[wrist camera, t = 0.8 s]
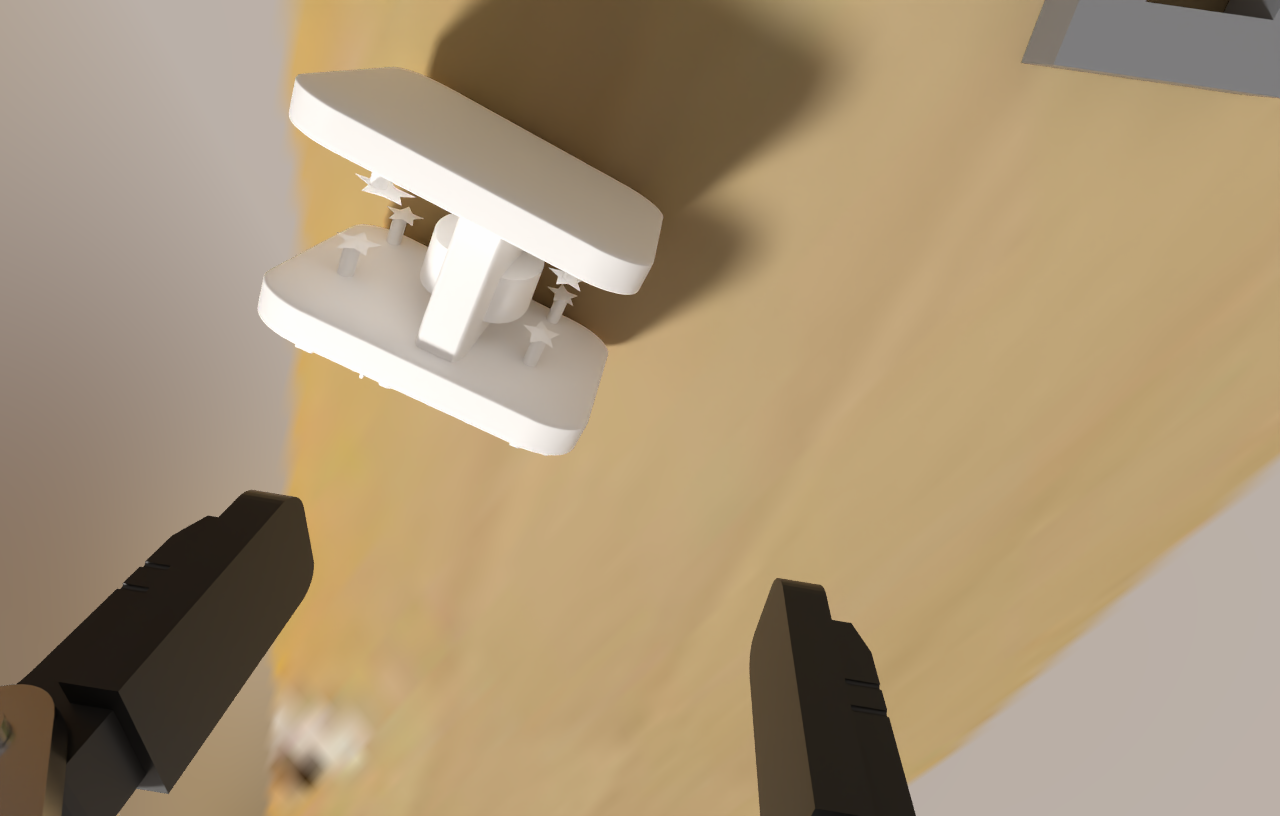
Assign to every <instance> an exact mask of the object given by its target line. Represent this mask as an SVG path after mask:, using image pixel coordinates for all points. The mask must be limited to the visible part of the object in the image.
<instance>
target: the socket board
mask: <svg viewBox="0 0 1280 816" xmlns="http://www.w3.org/2000/svg"><path fill="white" fill-rule="evenodd" d="M1146 1H1147V0H1045V2H1044V4H1043V7H1042V10H1041V12H1040V15H1039V17H1038V20H1037V23H1036V25H1035V28H1034V31H1033V33H1032V36H1031V38H1030V41H1029V44H1028V46H1027V49H1026V51H1025V54H1024V57H1023V59H1022V62H1021V63H1026V64H1033V65H1040V66H1046V67H1053V68H1060V69H1067V70H1074V71H1081V72H1088V73H1095V74H1102V75H1109V76H1116V77H1122V78H1129V79H1136V80H1143V81H1150V82H1157V83H1164V84H1171V85H1178V86H1185V87H1192V88H1198V89H1205V90H1212V91H1219V92H1226V93H1233V94H1240V95H1250V96H1260V97H1271V98H1280V0H1230V1H1229V3H1228V5H1227V7H1226V9H1225V11H1224V13H1220V12H1213V11H1207V10H1200V9H1193V8H1186V7H1179V6H1172V5H1165V4H1158V3H1151V2H1146Z"/></svg>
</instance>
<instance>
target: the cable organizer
mask: <svg viewBox="0 0 1280 816" xmlns="http://www.w3.org/2000/svg"><path fill="white" fill-rule="evenodd" d="M289 118H290V120H291V121H292V123H293V124H294V125H295V126H296V127H297V128H298V129H299V130H300V131H301V132H303V133H304V134H305V135H307V136H308V137H309V138H311V139H312V140H314V141H315V142H317V143H318V144H320V145H322V146H323V147H325V148H327V149H329V150H331V151H333V152H334V153H336V154H338V155H340V156H342V157H344V158H346V159H348V160H350V161H352V162H354V163H356V164H358V165H360V166H362V167H363V168H365V169H367V170H369V171H371V172H372V174H371V178H367V177H364V176H361V175H358V174H356V175H357V176H358V177H360V178H361V179H362V180H363V181H365V182H366V183H367V184H368V185H367V186H366V187H365V188H364V189H362V191H365V192H369V193H372V194H376V195H379V196H383V197H385V198H387V199H389V200H391V201H393V202H395V203H397V204H399V205H401V199H400V197H414V196H412V195H410V194H408V193H405V192H403V191H401V190H399V189H396V188H395V186H394V185H393V184H392V183H394V184H396V185H398V186H400V187H402V188H404V189H406V190H408V191H410V192H412V193H414V194H416V195H417V196H419V197H421V198H423V199H425V200H427V201H429V202H431V203H433V204H435V205H437V206H439V207H441V208H443V209H444V210H446V211H448V212H450V213H452V214H449V215H446V216H444V217H442V218H441V219H440V220H439V221H438V222H437V224H436V226H435V229H434V232H433V235H432V238H431V241H430V243H429V246H428V247H427V246H425V245H423V244H421V243H419V242H417V241H415V240H413V239H411V238H409V237H407V236H405V235H403V234H404V231H405V228H406V225H407V223H408V224H410V225H412V226H413V220H414V219H424V218H422V217H419V216H417V215H415V214H412V212H411V209H410V207H407V208H404V209H401V210H400V209H396V208H392V207H388V206H387V207H388V208H389V209H390V210H391V211H392V212H394V214H393V215H392V216H391V217H390V219H392V222H391V226H390V229H386V228H383V227H379V226H374V225H367V224H359V225H354V226H352V227H350V228H348V229H346V230H344V231H342V232H340V233H338V232H337V233H338V234H337V235H335V236H333V237H331V238H329V239H327V240H325V241H323V242H321V243H319V244H318V245H316V246H314V247H312V248H310V249H308V250H306V251H304V252H302V253H300V254H299V255H297V256H295V257H293V258H291V259H289V260H287V261H285V262H283V263H281V264H280V265H278V266H276V267H274V268H272V269H270V270H269V271H267V272H266V273H265V275H264V278H263V283H262V288H261V293H260V298H259V303H258V312H259V316H260V317H261V319H262V320H263V321H264V323H265V324H266V325H267V326H268V327H269V328H271V329H272V330H273V331H274V332H276V333H277V334H279V335H280V336H282V337H283V338H285V339H287V340H289V341H291V342H293V343H295V344H296V345H295V347H298V348H300V349H302V350H304V351H306V352H308V353H312V352H314V353H316V354H318V355H321V356H323V357H325V358H327V359H329V360H331V361H334V362H336V363H338V364H340V365H342V366H344V367H347V368H349V369H351V370H353V371H355V372H358V373H360V376H359V378H361V379H362V378H363V377H364V376H366V377H368V378H371V379H373V380H375V381H377V382H379V385H380V386H382V387H385V388H388V389H391V388H392V389H394V390H397V391H399V392H401V393H403V394H405V395H407V396H410V397H412V398H414V399H416V400H418V401H420V402H423V403H425V404H427V405H428V406H431V407H434V408H436V409H438V410H440V411H442V412H444V413H447V414H449V415H451V416H453V417H455V418H457V419H460V420H462V421H464V422H466V423H467V424H470V425H473V426H475V427H477V428H479V429H481V430H483V431H486V432H488V433H490V434H492V435H494V436H496V437H499V438H501V439H503V440H505V441H507V442H509V443H510V444H509V445H511V446H513V447H515V448H523V449H526V450H529V451H532V452H535V453H540V454H543V455H545V456H547V455H562V454H566V453H568V452H570V451H571V450H572V449H573V448H574V446H575V445H576V443H577V441H578V439H579V438H580V436H581V434H582V432H583V431H584V429H585V427H586V425H587V423H588V421H589V417H590V414H591V410H592V407H593V404H594V400H595V397H596V394H597V390H598V387H599V383H600V380H601V377H602V373H603V370H604V366H605V363H606V360H607V356H608V349H607V347H606V345H605V344H604V343H603V341H602V340H601V339H600V338H599V337H598V336H596V335H595V334H594V333H593V332H592V331H590V330H589V329H587V328H586V327H584V326H583V325H581V324H579V323H577V322H575V321H573V320H571V319H569V318H567V317H565V316H563V315H562V313H563V311H564V309H565V307H566V305H567V303H569V304H570V305H572V306H573V304H572V301H571V298H574V297H577V295H574V294H572V293H569V292H567V290H566V289H565V287H564V286H563V284H569V285H571V286H572V287H574V288H576V289H577V290H579V291H580V288H579V285H578V282H581V281H584V282H586V283H588V284H590V285H592V286H595V287H598V288H600V289H603V290H606V291H609V292H613V293H618V294H623V295H631V294H635V293H637V292H638V291H639V289H640V287H641V285H642V284H643V282H644V280H645V278H646V276H647V274H648V273H649V271H650V269H651V267H652V265H653V263H654V259H655V254H656V250H657V245H658V240H659V235H660V231H661V226H662V221H663V214H662V213H661V211H660V210H659V209H658V208H657V207H656V206H655V205H654V204H653V203H652V202H650V201H649V200H648V199H646V198H645V197H644V196H642V195H641V194H639V193H638V192H636V191H635V190H633V189H631V188H630V187H628V186H626V185H624V184H623V183H621V182H619V181H617V180H615V179H613V178H612V177H610V176H608V175H606V174H604V173H603V172H601V171H599V170H597V169H595V168H594V167H592V166H590V165H588V164H586V163H585V162H583V161H581V160H579V159H577V158H576V157H574V156H572V155H570V154H568V153H567V152H565V151H563V150H561V149H559V148H557V147H556V146H554V145H552V144H550V143H548V142H547V141H545V140H543V139H541V138H539V137H538V136H536V135H534V134H532V133H530V132H529V131H527V130H525V129H523V128H521V127H520V126H518V125H516V124H514V123H512V122H511V121H509V120H507V119H505V118H503V117H501V116H500V115H498V114H496V113H494V112H492V111H491V110H489V109H487V108H485V107H483V106H482V105H480V104H478V103H476V102H474V101H473V100H471V99H469V98H467V97H465V96H464V95H462V94H460V93H458V92H456V91H455V90H453V89H451V88H449V87H447V86H445V85H443V84H441V83H439V82H437V81H435V80H433V79H431V78H429V77H426V76H424V75H422V74H419V73H416V72H413V71H410V70H407V69H403V68H398V67H385V68H372V69H359V70H346V71H333V72H319V73H306V74H299V75H298V76H297V77H296V78H295V84H294V89H293V94H292V99H291V104H290V109H289ZM416 198H417V197H416ZM401 206H402V205H401ZM544 261H545V262H547V263H549V264H551V265H553V266H554V267H556V268H558V269H560V270H557V269H553V268H550V269H551V270H552V271H553V272H554V273H555V274H556V275H557V276H558V279H557V283H556V284H562V285H561V286H560V287H559V288H558V289H557V288H552V287H548V286H547V287H548V288H549V289H550V290H551V291H553V292H554V293H555V296H554V299H553V300H554V302H553V304H552V307H551V309H550V308H548V307H546V306H544V305H542V304H540V303H538V302H536V301H534V300H532V297H533V294H534V291H535V289H536V286H537V283H538V281H539V278H540V275H541V273H542V270H543V268H544ZM548 268H549V267H548ZM561 270H562V271H561Z"/></svg>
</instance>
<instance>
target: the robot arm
mask: <svg viewBox="0 0 1280 816" xmlns="http://www.w3.org/2000/svg"><path fill="white" fill-rule="evenodd" d="M313 570H314V561H313V555H312V549H311V544H310V539H309V533H308V528H307V522H306V517H305V512H304V507H303V503H302V501H301V500H300V499H299V498H297V497H292V496H286V495H280V494H274V493H268V492H261V491H256V490H249V491H246V492H244V493H243V494H241V495H240V496H239V497H238V498H237V499H236V500H235V501H234V502H233V503H232V504H231V505H230V506H229V507H228V508H227V509H226V510H225V511H224V512H223V513H222V514H221V515H220V516H219V517H212V516H206V517H204V518H203V519H201V520H199V521H197V522H196V523H194V524H192V525H190V526H188V527H187V528H185V529H183V530H181V531H180V532H178V533H176V534H174V535H172V536H171V537H170V538H169V539H168V540H167V541H166V542H165V543H164V544H163V545H162V546H161V547H160V548H159V549H158V550H157V551H156V552H155V553H154V554H153V555H152V556H151V557H149V558H148V559H147V560H146V561H145V566H144V567H139V568H138V569H137V570H136V571H135V572H134V573H133V574H132V575H131V576H130V577H129V578H128V579H127V580H126V581H125V582H124V583H123V587H122V588H121V589H116V590H115V591H114V592H113V593H112V594H111V595H110V596H109V597H108V598H107V599H106V600H105V601H104V602H103V603H102V604H101V605H100V606H99V607H98V608H97V609H96V610H95V611H94V612H92V613H91V614H90V616H89V617H88V618H86V619H85V620H84V621H83V622H82V623H81V624H80V625H79V626H78V627H77V628H76V629H75V630H74V631H73V632H72V633H71V634H70V635H69V636H68V637H67V638H66V639H65V640H64V641H62V643H60V645H58V646H57V647H56V648H55V649H54V650H53V651H52V652H51V653H50V654H49V655H48V656H47V657H46V658H45V659H44V660H43V661H42V662H41V663H40V664H39V665H38V666H37V667H36V668H35V669H33V671H31V672H30V673H29V674H28V675H27V676H26V677H25V678H23V679H22V680H21V681H20V682H19V683H17V684H12V685H4V686H0V816H120V815H119V811H120V810H121V808H122V807H123V806H124V804H125V803H126V802H127V800H128V799H129V798H130V796H131V795H132V794H133V792H134V791H135V790H136V789H142V790H148V791H154V792H160V793H167V794H169V792H170V791H171V789H172V788H173V786H174V785H175V783H176V782H177V780H178V779H179V778H180V776H181V775H182V773H183V772H184V771H185V769H186V767H187V766H188V765H189V763H190V762H191V760H192V759H193V758H194V756H195V755H196V753H197V752H198V750H199V749H200V747H201V746H202V744H203V743H204V742H205V740H206V738H207V737H208V736H209V734H210V733H211V732H212V730H213V728H214V727H215V726H216V724H217V723H218V721H219V720H220V719H221V717H222V716H223V714H224V713H225V711H226V710H227V708H228V707H229V705H230V704H231V703H232V701H233V700H234V698H235V697H236V695H237V694H238V693H239V691H240V690H241V688H242V687H243V685H244V684H245V682H246V681H247V679H248V678H249V677H250V675H251V674H252V672H253V671H254V669H255V668H256V667H257V665H258V664H259V662H260V661H261V659H262V658H263V657H264V655H265V654H266V652H267V651H268V649H269V648H270V646H271V645H272V644H273V642H274V641H275V639H276V638H277V636H278V635H279V633H280V632H281V631H282V629H283V628H284V626H285V625H286V623H287V622H288V620H289V619H290V618H291V616H292V615H293V613H294V612H295V610H296V609H297V607H298V606H299V605H300V603H301V602H302V600H303V599H304V597H305V595H306V593H307V591H308V589H309V586H310V583H311V580H312V576H313ZM879 685H880V683H879V679H878V675H877V672H876V668H875V664H874V661H873V657H872V653H871V651H870V650H869V648H868V647H867V645H866V644H865V643H864V641H863V640H862V638H861V637H860V635H859V634H858V632H857V631H856V629H855V628H854V626H853V625H852V624H851V623H847V622H841V621H835V620H832V619H831V615H830V610H829V606H828V601H827V596H826V593H825V590H824V588H823V587H822V586H821V585H817V584H811V583H805V582H799V581H793V580H787V579H780V578H777V579H775V580H774V582H773V584H772V587H771V590H770V592H769V595H768V598H767V601H766V603H765V606H764V609H763V612H762V614H761V617H760V620H759V623H758V625H757V628H756V631H755V633H754V637H753V641H752V645H751V652H750V686H751V699H752V712H753V725H754V739H755V752H756V765H757V778H758V791H759V804H760V816H916V815H915V811H914V807H913V804H912V800H911V797H910V793H909V789H908V785H907V782H906V778H905V774H904V771H903V767H902V763H901V760H900V756H899V752H898V749H897V745H896V741H895V738H894V734H893V730H892V727H891V723H890V719H889V717H887V714H886V713H887V708H886V705H885V701H884V697H883V694H882V690H880V689H879Z"/></svg>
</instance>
